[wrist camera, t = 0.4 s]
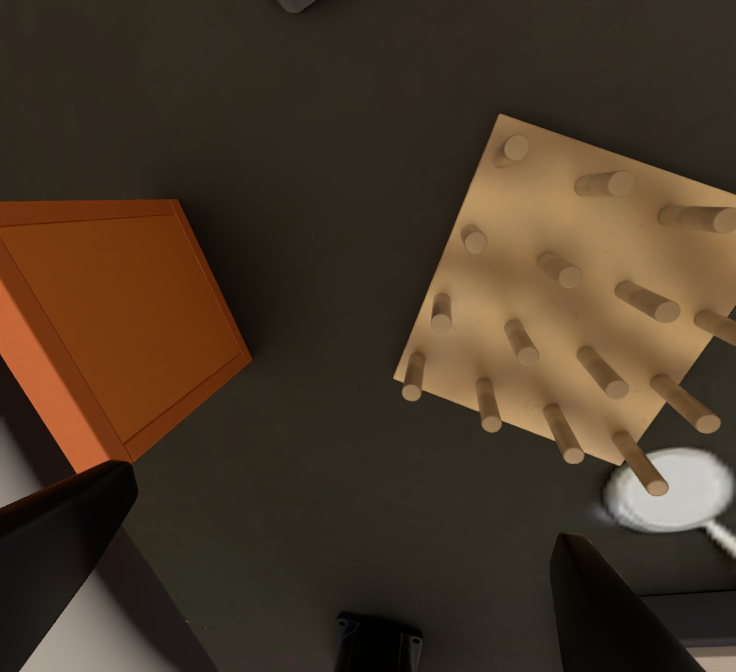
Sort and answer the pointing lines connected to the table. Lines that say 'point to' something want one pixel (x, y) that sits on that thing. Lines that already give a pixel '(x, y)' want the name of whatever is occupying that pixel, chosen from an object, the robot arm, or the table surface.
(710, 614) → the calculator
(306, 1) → the walkie-talkie
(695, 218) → the rack
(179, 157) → the table surface
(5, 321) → the lid
